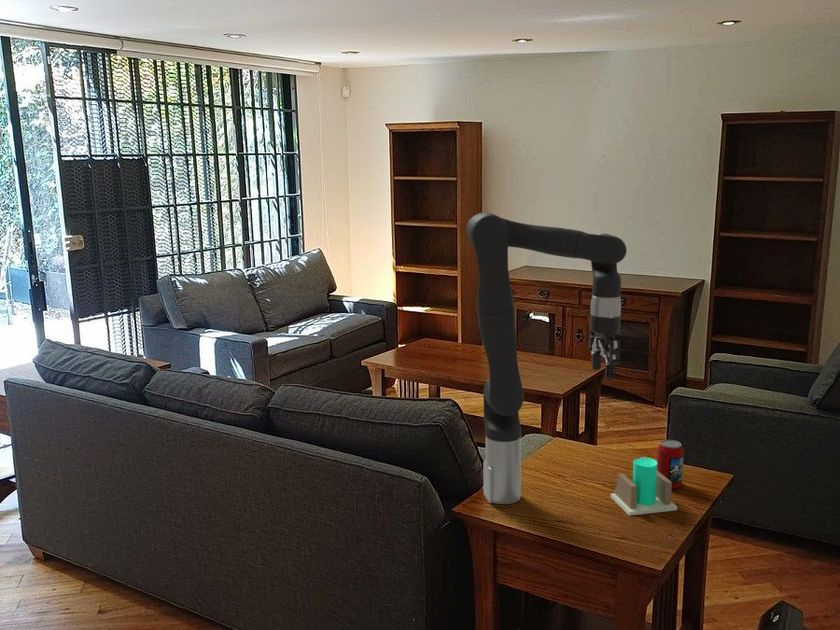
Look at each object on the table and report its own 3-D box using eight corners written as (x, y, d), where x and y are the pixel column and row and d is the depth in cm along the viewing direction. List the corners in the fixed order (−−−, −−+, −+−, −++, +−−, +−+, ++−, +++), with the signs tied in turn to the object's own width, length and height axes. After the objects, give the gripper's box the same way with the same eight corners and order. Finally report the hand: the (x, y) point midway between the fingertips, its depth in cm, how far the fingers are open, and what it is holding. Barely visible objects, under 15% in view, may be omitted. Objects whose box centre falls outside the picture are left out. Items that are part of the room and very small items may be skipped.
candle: (652, 495, 209) (654, 451, 206) (658, 505, 203) (660, 460, 200) (629, 494, 209) (631, 451, 207) (634, 505, 203) (636, 460, 201)
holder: (629, 515, 200) (630, 489, 198) (610, 497, 210) (611, 472, 209) (677, 510, 202) (678, 484, 201) (656, 492, 213) (657, 467, 211)
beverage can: (678, 492, 213) (680, 449, 210) (652, 486, 216) (654, 445, 214) (684, 482, 218) (687, 441, 216) (659, 477, 222) (661, 437, 219)
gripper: (581, 308, 210) (578, 367, 213) (603, 319, 196) (600, 382, 200) (607, 306, 211) (605, 365, 215) (631, 318, 198) (628, 380, 201)
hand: (602, 373), depth 207 cm, fingers open, 8 cm apart
